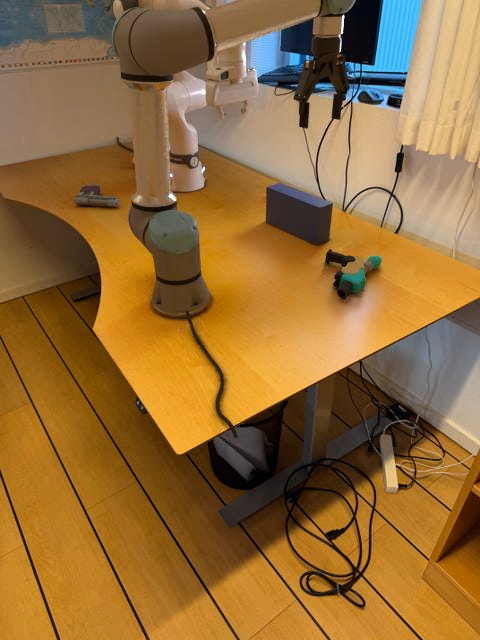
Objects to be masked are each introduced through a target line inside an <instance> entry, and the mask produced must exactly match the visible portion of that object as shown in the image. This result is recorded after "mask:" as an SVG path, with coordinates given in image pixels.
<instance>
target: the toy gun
mask: <svg viewBox="0 0 480 640" xmlns="http://www.w3.org/2000/svg"><path fill="white" fill-rule="evenodd" d="M73 203H75V204H76V205H80V206H81V205H82V206H83V205H84V206H93V207H95V206H96V207H107V208H108V207H109V208H118V205H119V203H120V198H117V197H113V196H109V195H108V196H107V195H106V196H105V195H102V196H101V187H100V185H99V184H86V185H84V186H81V188H80V190H79V193H77V194H76V195H75V198H74V200H73Z"/></svg>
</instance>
